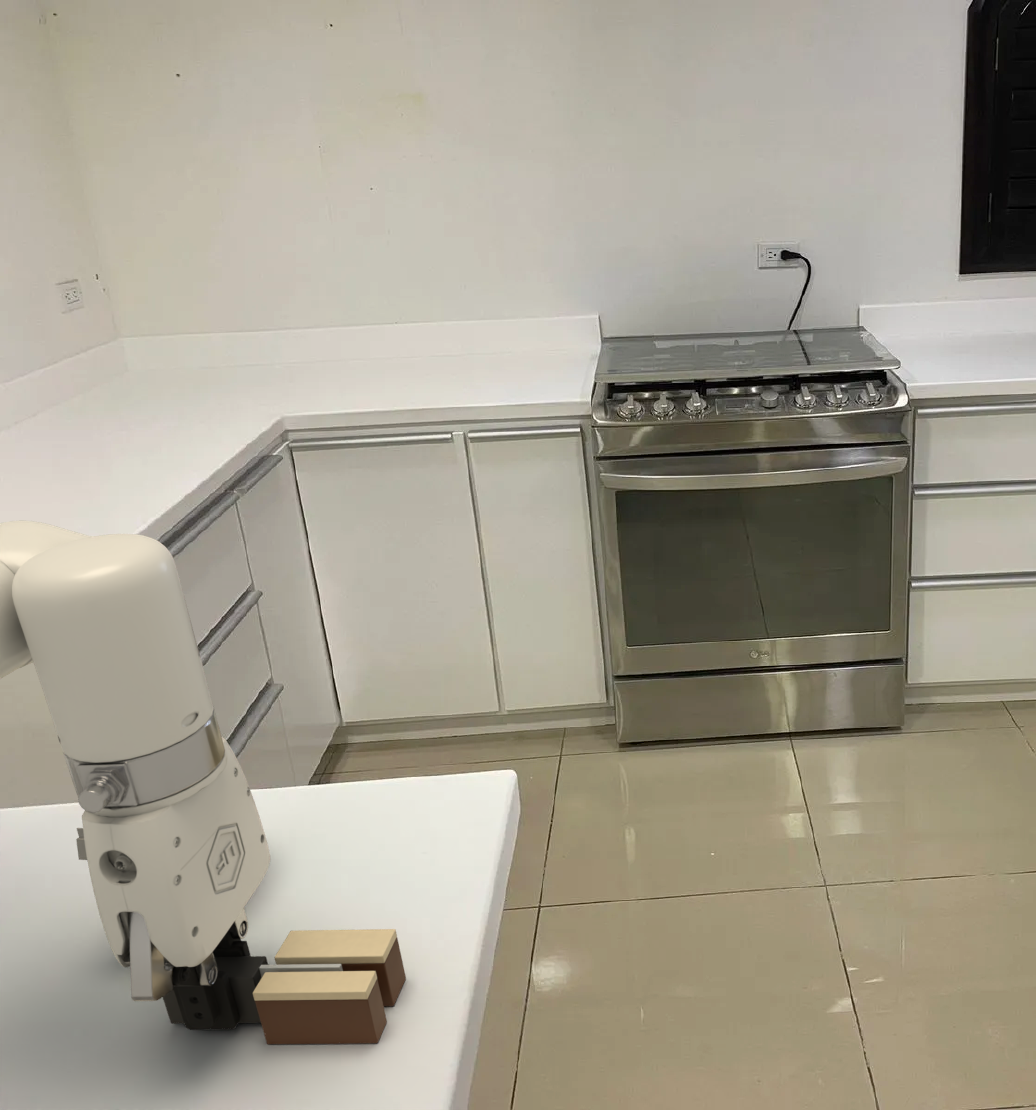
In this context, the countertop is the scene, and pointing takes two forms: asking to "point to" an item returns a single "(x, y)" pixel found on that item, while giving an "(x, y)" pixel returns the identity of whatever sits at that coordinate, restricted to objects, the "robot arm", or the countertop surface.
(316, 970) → the knife
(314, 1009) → the cake front
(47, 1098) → the countertop surface
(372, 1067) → the countertop surface
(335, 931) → the block
